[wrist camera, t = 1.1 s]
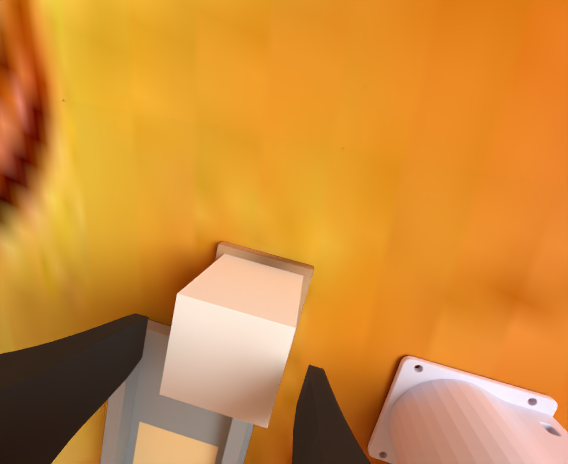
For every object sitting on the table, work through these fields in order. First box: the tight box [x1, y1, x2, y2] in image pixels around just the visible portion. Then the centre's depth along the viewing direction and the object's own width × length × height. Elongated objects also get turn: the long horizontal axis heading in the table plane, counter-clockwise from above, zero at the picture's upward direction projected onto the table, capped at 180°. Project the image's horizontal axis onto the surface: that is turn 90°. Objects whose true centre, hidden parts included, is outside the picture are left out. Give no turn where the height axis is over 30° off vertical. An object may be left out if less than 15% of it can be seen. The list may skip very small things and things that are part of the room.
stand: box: [215, 241, 314, 356], centre depth 18 cm, size 6×6×1 cm
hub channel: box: [100, 320, 254, 464], centre depth 19 cm, size 10×14×4 cm
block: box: [159, 254, 303, 428], centre depth 15 cm, size 5×5×6 cm
